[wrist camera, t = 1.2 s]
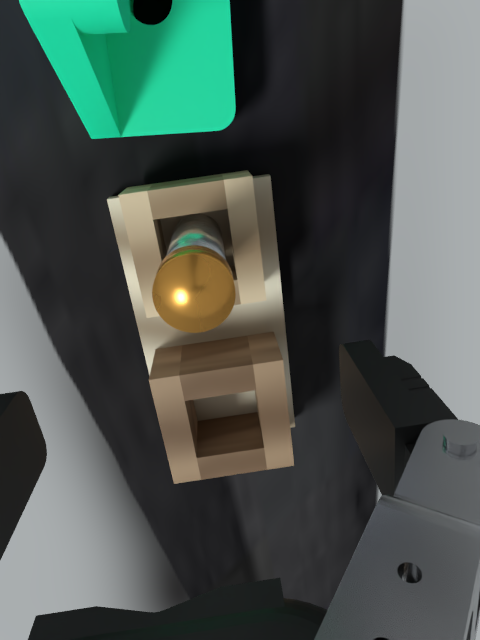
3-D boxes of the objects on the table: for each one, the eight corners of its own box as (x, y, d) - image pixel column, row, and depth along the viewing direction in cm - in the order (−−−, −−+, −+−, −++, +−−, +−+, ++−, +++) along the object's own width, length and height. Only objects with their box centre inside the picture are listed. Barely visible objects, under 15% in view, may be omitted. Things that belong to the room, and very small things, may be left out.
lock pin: (164, 214, 27) (143, 261, 18) (221, 205, 27) (229, 248, 18) (174, 268, 29) (161, 338, 19) (228, 260, 29) (240, 326, 19)
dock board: (108, 188, 27) (88, 201, 23) (267, 165, 27) (280, 174, 23) (167, 437, 35) (162, 485, 30) (292, 418, 35) (305, 463, 30)
